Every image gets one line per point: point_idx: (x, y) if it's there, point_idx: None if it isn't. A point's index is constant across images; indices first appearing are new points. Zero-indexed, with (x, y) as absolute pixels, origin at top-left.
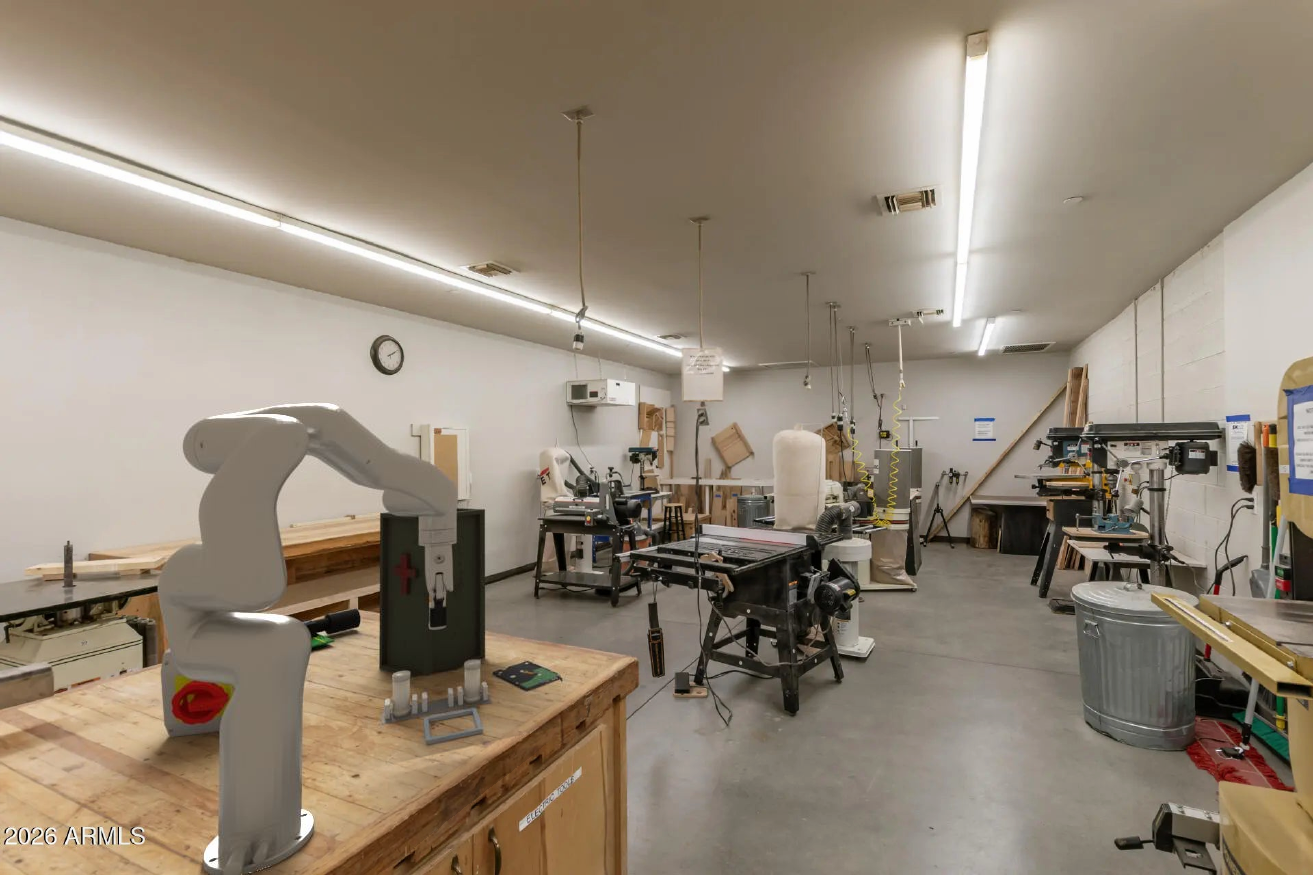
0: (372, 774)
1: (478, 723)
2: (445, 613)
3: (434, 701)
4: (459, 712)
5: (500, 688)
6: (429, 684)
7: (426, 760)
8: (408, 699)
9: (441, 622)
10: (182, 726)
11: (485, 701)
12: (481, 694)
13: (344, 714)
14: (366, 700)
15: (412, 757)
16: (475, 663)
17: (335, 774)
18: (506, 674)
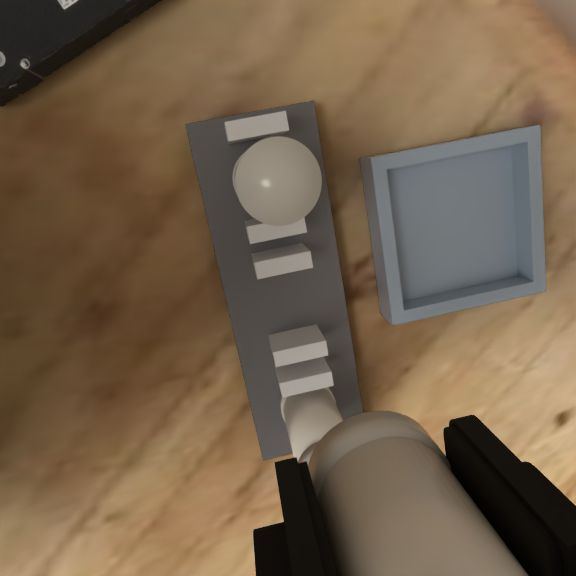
0: (572, 385)
1: (498, 141)
2: (537, 486)
3: (239, 314)
4: (391, 214)
5: (102, 68)
6: (3, 362)
7: (561, 275)
8: (324, 400)
9: (525, 463)
10: None
11: (293, 125)
12: (220, 145)
13: (210, 551)
14: (116, 526)
15: (532, 312)
16: (302, 163)
17: (538, 461)
18: (30, 27)
